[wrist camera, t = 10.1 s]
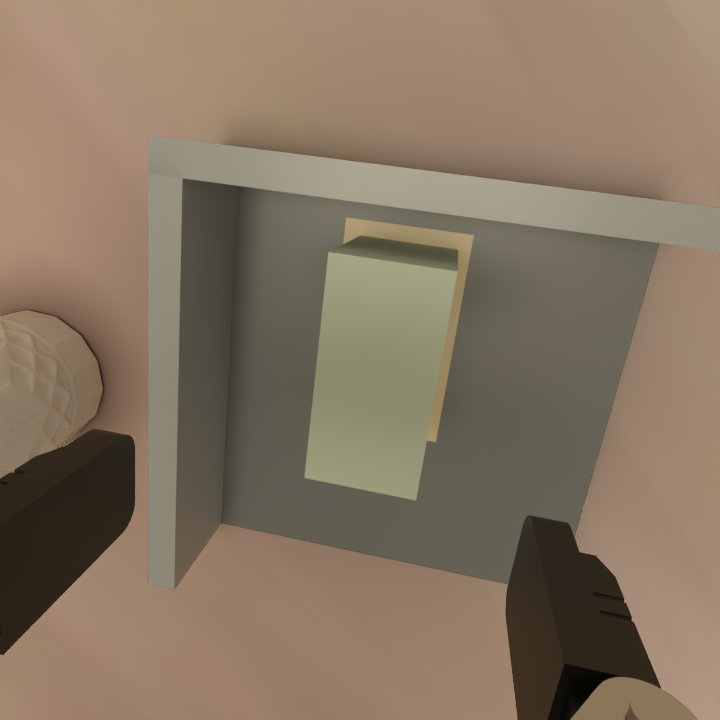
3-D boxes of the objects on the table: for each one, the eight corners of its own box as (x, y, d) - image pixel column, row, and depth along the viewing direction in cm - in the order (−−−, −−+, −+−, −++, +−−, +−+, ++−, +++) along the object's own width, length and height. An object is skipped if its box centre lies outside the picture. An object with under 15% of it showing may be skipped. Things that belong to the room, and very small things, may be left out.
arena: (554, 583, 27) (578, 683, 22) (205, 509, 29) (147, 584, 24) (663, 202, 22) (732, 209, 16) (220, 146, 24) (148, 135, 18)
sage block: (458, 249, 22) (457, 271, 17) (425, 429, 25) (416, 500, 19) (360, 235, 23) (328, 251, 17) (338, 412, 25) (304, 477, 20)
